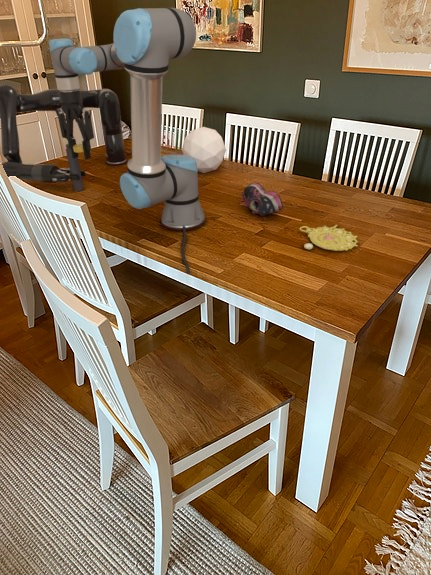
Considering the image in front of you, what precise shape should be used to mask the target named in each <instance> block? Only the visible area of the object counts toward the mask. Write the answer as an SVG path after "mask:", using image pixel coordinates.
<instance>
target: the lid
mask: <svg viewBox="0 0 431 575" xmlns="http://www.w3.org/2000/svg"><path fill="white" fill-rule="evenodd" d="M73 150H74V152H76V153H78V154H80V153H84V150H83V145H82V143H76V145H74V146H73Z"/></svg>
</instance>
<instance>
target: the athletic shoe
mask: <svg viewBox="0 0 431 575" xmlns="http://www.w3.org/2000/svg"><path fill="white" fill-rule="evenodd" d="M241 197H242V199H243V201H238V203H239V204H241V205H245V206H246V207H247V208H248V210H249V211H250V210H251V213H252V214H255V215H260V217H266V216H267V215H270V214H274V213H275V212H279V211H282V210H283V209H284V205H283V201H282V198H281V196H280V195H279V194H278V192H277V191H274V190H269V191H267V190H266V189H265V187H264V186H263V185H262V184H261V183H258V182H251V183H249V184H247V186H246V187H245V188H244V190H243V191H242V192H241Z"/></svg>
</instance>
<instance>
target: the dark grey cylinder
mask: <svg viewBox="0 0 431 575" xmlns="http://www.w3.org/2000/svg"><path fill="white" fill-rule="evenodd" d="M65 154H66V158H67V162H68V167H69V168H70V173H71V174H79V175H80V180H71V182H72V188H73V191H74V192H82V191H84V190H85V187H84V182H83V176H81V171H82V170H81V166H80V161H79V157H77V158H75V159H73V157H72V152H71V149H70V148H69V144H68V143H66V144H65Z"/></svg>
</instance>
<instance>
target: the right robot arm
mask: <svg viewBox="0 0 431 575" xmlns="http://www.w3.org/2000/svg"><path fill="white" fill-rule="evenodd" d="M112 40H113V43H107V44H102V45H101V44H100V45H88V46H74V43H73V41H72V39H71V38H53V39H50V40H49V41H48V46H49V55H50V58H51V62H52V67H53V72H54V77H55V82H56V83H55V84H56V89H58V90H60V91H59V98H60V102H61V103H62V106H61V108H59V109H56V110H55V111H54V112H55V114H56V116H57V119H58V124H59V128H60V134H61V138H63V139H66V140H67V144H69V148H70V149H71V152H72V157H73V159H75V158H77V157H78V158H79V153H76V152H74V150H73V146H74V145H76V144H77V141H76V138H75V136H74V121H75V123H76V124H77V126H78V129H79V131H80V134H81V137H82V141H81V144H82V145H83V150H84V152H83V155H84V160H85V161H86V160H89V159H91V158H92V156H91V149H92V146H91V140H93V139H95V134H94V127H93V122H92V121H93V120H92V110H91V109H87V108H84V107H83V105H82V95H81V91H80V90H81V84H80V79H79V75H81V76H85V75H86V76H88V75H89V76H90V75H92V74H94V73H99V72H106V71H113V70H114V71H116V70H125V71H127V73H128V74H129V82H130V88H129V89H130V125H131V126H130V128H131V153H132V154H131V158H130V159H129V160H128V161H127V162H126V163H127V164H126V172H124V173H123V174H121V176H120V177H119V187H120V190H121V193H122V195H123V197H124V198H125V200H126V201H127V203H128V204H129V205H130V206H131V207H132V208H134V209H136V210H142V209H146V208H150V207H153V206H155V205H158V204H160V203H164V204H163V209H162V213H161V219H160V220H161V225H162V227H163V228H165V229H167V230H170V231H175V232H176V231H177V232H182V233H183V240H182V243H181V258H182V261H183V263H184V265H185V268H186V273H187V275H190V274H191V269H190V265H189V263H188V262H187V259H186V256H185V245H186V242H187V231H192V230H195V229H198V228H201V227H202V226H203V225H204V224H205V223H206V215H205V212H204V210H203V208H202V204H201V202H200V196H199V173H198V172H199V171H198V170H197V162H196V160H195V159H194V158H192V157H190V156H186V155H183V154H165V155H162V126H163V125H162V124H163V123H162V121H163V77H164V76H165V75H166V74H167V73H168V72H169V62H170V60H174V59H179V58H182V57H185V56H186V55H188V54H189V53H190V52H191V51H192V50H193V48H194V46H195V44H196V40H197V29H196V25H195V23H194V21H193V19H192V17H191V16H190V15H189V14H188V13H186V12H185V11H184V10H182V9H180V8H177V7H159V8H156V7H154V8H153V7H152V8H151V7H150V8H148V7H147V8H144V7H143V8H141V7H137V8H135V9H127V10H125V11H123V12H122V13H120V15H119V17H118V18H117V19H116V21H115V24H114V27H113V38H112Z"/></svg>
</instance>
